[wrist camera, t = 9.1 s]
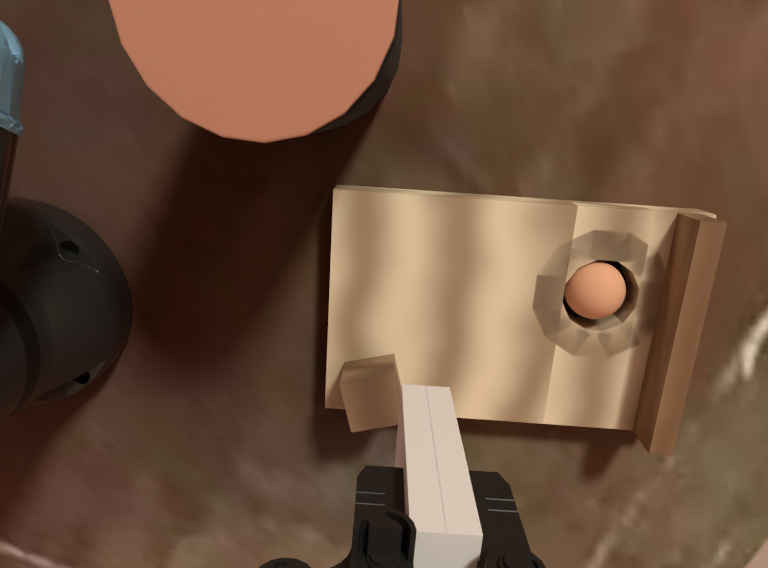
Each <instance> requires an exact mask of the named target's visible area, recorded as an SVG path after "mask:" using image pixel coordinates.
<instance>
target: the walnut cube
mask: <svg viewBox="0 0 768 568" xmlns="http://www.w3.org/2000/svg"><path fill="white" fill-rule="evenodd" d="M340 389H341V393H342V397H343V401H344V405H345V409H346V413H347V417H348V421H349V426H350V430H351V433H352V432H358V431H364V430H370V429H376V428H383V427H389V426H395V425H398V421H399V410H400V399H401V383H400V378H399V374H398V369H397V364H396V359H395V355H394V354H388V355H383V356H377V357H371V358H365V359H359V360H354V361H348V362H345V363H344V368H343V372H342V376H341V381H340Z"/></svg>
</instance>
